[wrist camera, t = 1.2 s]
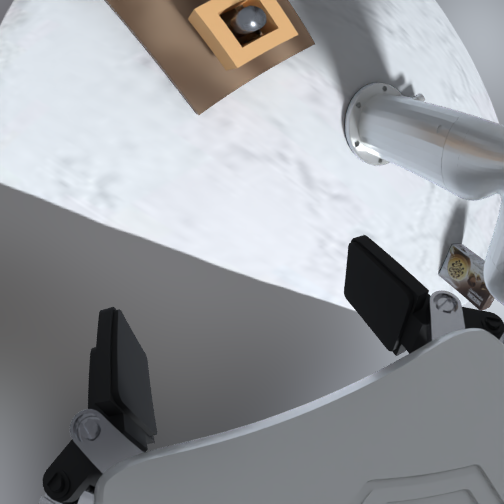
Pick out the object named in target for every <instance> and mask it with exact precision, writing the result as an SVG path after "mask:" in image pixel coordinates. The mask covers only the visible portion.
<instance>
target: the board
mask: <svg viewBox="0 0 504 504" xmlns="http://www.w3.org/2000/svg"><path fill="white" fill-rule="evenodd" d="M105 1H106V2H107V4H108V5H109V6H110V7H111V8H112V9H113V11H114V12H115V13H116V14H117V15H118V17H119V18H120V19H121V20H122V21H123V22H124V24H125V25H126V26H127V27H128V28H129V30H130V31H131V32H132V33H133V34H134V36H135V37H136V38H137V39H138V41H139V42H140V43H141V44H142V45H143V47H144V48H145V49H146V50H147V52H148V53H149V54H150V55H151V57H152V58H153V59H154V60H155V62H156V63H157V64H158V65H159V67H160V68H161V69H162V70H163V72H164V73H165V74H166V75H167V77H168V78H169V79H170V80H171V82H172V83H173V84H174V86H175V87H176V88H177V89H178V91H179V92H180V93H181V95H182V96H183V97H184V98H185V100H186V101H187V102H188V104H189V105H190V106H191V108H192V109H193V110H194V111H195V113H196V114H198V115H200V114H201V113H203V112H204V111H205V110H207V109H208V108H210V107H211V106H213V105H214V104H215V103H217V102H218V101H220V100H221V99H223V98H224V97H226V96H227V95H229V94H230V93H232V92H233V91H235V90H236V89H238V88H239V87H241V86H242V85H244V84H246V83H247V82H249V81H250V80H252V79H254V78H255V77H257V76H258V75H260V74H262V73H263V72H265V71H267V70H268V69H270V68H272V67H274V66H275V65H277V64H279V63H281V62H282V61H284V60H286V59H288V58H290V57H291V56H293V55H295V54H297V53H299V52H301V51H303V50H304V49H306V48H308V47H310V46H312V45H314V44H315V43H314V41H313V39H312V38H311V36H310V34H309V33H308V31H307V29H306V28H305V26H304V24H303V23H302V21H301V19H300V18H299V16H298V15H297V13H296V12H295V10H294V8H293V7H292V5H291V4H290V2H289V1H288V0H276V1H277V2H278V4H279V5H280V7H281V8H282V10H283V11H284V13H285V14H286V16H287V17H288V19H289V20H290V22H291V23H292V25H293V26H294V28H295V30H296V31H297V33H298V35H297V36H295V37H293V38H291V39H289V40H287V41H285V42H283V43H281V44H279V45H277V46H275V47H274V48H272V49H270V50H268V51H266V52H264V53H263V54H261V55H259V56H257V57H256V58H254V59H252V60H250V61H249V62H247V63H245V64H244V65H242V66H240V67H239V68H236V69H231V70H225V68H224V67H223V65H222V64H221V63H220V61H219V60H218V59H217V57H216V56H215V54H214V53H213V52H212V50H211V49H210V48H209V46H208V45H207V44H206V42H205V41H204V40H203V38H202V37H201V36H200V34H199V33H198V32H197V30H196V29H195V28H194V27H193V25H192V24H191V23H190V21H189V20H188V18H189V16H190V15H191V13H192V12H193V10H194V9H195V8H197V7H199V6H201V5H203V4H205V3H206V2H208V1H210V0H105ZM240 6H241V7H243V5H240ZM261 35H262V32H261V34H260V36H261Z"/></svg>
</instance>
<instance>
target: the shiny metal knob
mask: <svg viewBox="0 0 504 504" xmlns="http://www.w3.org/2000/svg"><path fill="white" fill-rule="evenodd" d="M220 17H221V19H222V20H223V21H224V23H225V24H226V25H227V27H228V28H229V30H230V31H231V32H232V34H233V35H234V36H235V38H236V39H237V41H238V42H239V44H240V45H241V46H242V45H244V44H246V43H248V42H249V41H251V40H253V39H255V38H257V37H259V36H260V34H261V31H260V30H259V29H261V28H262V27H263V26H264V25H265V24H266V20H267V18H266V14H265V12H264V11H263V10H262V9H261V8H259V7H256V6H247V7H245V8H244V7H241V6H238V7H236V8H234V9H232V10H230V11H228V12H226V13H224V14H222V15H220Z"/></svg>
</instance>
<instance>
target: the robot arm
mask: <svg viewBox="0 0 504 504" xmlns="http://www.w3.org/2000/svg"><path fill="white" fill-rule="evenodd" d="M424 100H425V98H424V96H423V95H422V94H417V95H416V96H414V98H411V97H406V96H403V95H402V94H401V93H400V92H399V91H398V90H397V89H396V88H394V87H393V86H391V85H388V84H384V83H372V84H368V85H366V86H364V87H363V88H361V89H360V90H359V91H358V92H357V93H356V94H355V96H354V97H353V98H352V100H351V102H350V104H349V106H348V110H347V113H346V120H345V132H346V137H347V141H348V143H349V146H350V148H351V150H352V151H353V153H354V154H355V155H356V156H357V157H358V158H359V159H360V160H362V161H363V162H366V163H368V164H370V165H374V166H381V165H385V164H388V163H390V162H391V163H393V164H395V165H397V166H400V167H402V168H404V169H406V170H408V171H410V172H412V173H414V174H416V175H418V176H420V177H422V178H424V179H426V180H428V181H430V182H432V183H434V184H436V185H438V186H440V187H442V188H444V189H445V190H447V191H449V192H451V193H453V194H455V195H457V196H458V197H461V198H463V199H466V200H473V201H474V200H481V199H484V198H487V197H490V196H492V195H494V194H496V193H498V194H500V196H501V205H500V210H499V216H498V220H497V223H496V227H495V230H494V233H493V237H492V240H491V243H490V246H489V249H488V252H487V256H486V259H485V263H484V270H483V273H484V281H485V284H486V287H487V289H488V290H489V292H490V293H491V295H492V296H493V297H494V298H495V299H496V300H497V301H499V302H500V303H501V304H503V305H504V125H501V124H498V123H495V122H492V121H489V120H486V119H483V118H480V117H477V116H474V115H470V114H466V113H463V112H460V111H456V110H453V109H449V108H446V107H442V106H438V105H434V104H430V103H426V102H423V101H424ZM428 292H429V290H428V289H427V288H425V287H424V286H423V285H422V284H421V283H420V282H419V281H418V280H417V279H416V278H415V277H414V276H412V275H411V274H410V273H409V272H408V271H407V270H406V269H405V268H404V267H402V266H401V265H400V264H399V263H398V262H397V261H396V260H394V259H393V258H392V257H391V256H390V255H389V254H388V253H386V252H385V251H384V250H383V249H382V248H381V247H379V246H378V245H377V244H376V243H375V242H373V241H372V240H371V239H370V238H369V237H367V236H366V235H363V236H359V237H356V238H353V239H352V240H351V243H349V246H348V257H347V268H346V278H345V287H344V295H345V297H346V299H347V300H348V301H349V303H350V304H351V305H352V306H353V308H354V309H355V310H356V311H357V312H358V314H359V315H360V316H361V317H362V318H363V320H364V321H365V322H366V323H367V325H368V326H369V327H370V328H371V329H372V331H373V332H374V333H375V334H376V336H377V337H378V338H379V340H380V341H381V342H382V343H383V345H384V346H385V347H386V348H387V349H388V350H389V351H393V353H394V354H395V355H396V356H397V355H399V354H401V353H403V352H405V351H406V350H407V351H408V352H409V355H407V356H405V357H403V358H401V359H399V360H397V361H396V362H394V363H393V364H390V365H388V366H387V367H385V368H383V369H381V370H379V371H377V372H375V373H373V374H371V375H369V376H367V377H365V378H363V379H361V380H359V381H357V382H355V383H353V384H351V385H348V386H346V387H344V388H342V389H340V390H338V391H335V392H333V393H331V394H329V395H326V396H324V397H322V398H319V399H317V400H314V401H312V402H310V403H307V404H305V405H302V406H300V407H297V408H294V409H292V410H290V411H286V412H284V413H281V414H278V415H275V416H273V417H270V418H267V419H264V420H261V421H258V422H255V423H252V424H249V425H246V426H242V427H239V428H236V429H232V430H229V431H225V432H222V433H219V434H215V435H211V436H207V437H203V438H200V439H196V440H192V441H188V442H183V443H179V444H175V445H171V446H167V447H163V448H159V449H155V450H150V451H148V452H146V451H147V444H149V443H154V437H153V435H156V434H157V428H156V423H155V416H154V409H153V403H152V395H151V387H150V379H149V370H148V361H147V357H146V354H145V352H144V351H143V349H142V348H141V346H140V344H139V342H138V341H137V339H136V337H135V335H134V334H133V332H132V330H131V328H130V326H129V324H128V323H127V321H126V319H125V317H124V315H123V314H122V312H121V310H116V309H115V308H114V307H111V308H108V309H104V310H101V311H100V312H99V321H98V332H97V344H96V347H95V348H92V349H91V353H90V369H89V390H88V391H89V392H88V393H89V394H88V409H86V410H82V411H80V412H79V413H77V414H76V415H75V416H74V418H73V419H72V422H71V424H70V435H71V437H72V440H71V441H70V443H69V444H68V445H67V446H66V447H65V449H64V450H63V451H62V452H61V454H60V455H59V456H58V457H57V458H56V459H55V461H54V462H53V463H52V464H51V466H50V467H49V468H48V469H47V470H46V472H45V474H44V477H43V487H44V490H45V492H46V493H45V496H44V497H43V496H41V497H40V500H39V503H38V504H504V323H503V321H502V320H501V318H500V317H499V316H497V315H496V314H494V313H491V312H486V311H481V310H475V309H471V308H465V307H462V306H461V302H460V300H459V299H458V298H457V297H456V296H455V295H454V294H452V293H450V292H447V291H437V292H434V293H433V294H432V295H431V296H430V295H429V294H428Z"/></svg>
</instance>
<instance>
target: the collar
mask: <svg viewBox="0 0 504 504" xmlns="http://www.w3.org/2000/svg"><path fill="white" fill-rule="evenodd" d="M240 5H243V7H244V8H245V7H247V6H256V7H259V8H261V9H262V10H263V11H264V12H265V14H266V18H267V20H266V24H265V25H264V26H263V27H262V28H261V29H259V30H260V31H261V32H262V35H261V36H259V37H257V38H255V39H253V40H251V41H249V42H248V43H246V44H244V45H242V46H241V45H240V44H239V42H238V41H237V39H236V38H235V36H234V35H233V34H232V32H231V31H230V30H229V28H228V27H227V25H226V24H225V23H224V21H223V20H222V19H221V17H220V15H222V14H224V13H226V12H228V11H230V10H232V9H234V8H236V7H238V6H240ZM188 20H189V21H190V23H191V24H192V25H193V27H194V28H195V29H196V30H197V32H198V33H199V34H200V36H201V37H202V38H203V40H204V41H205V42H206V44H207V45H208V46H209V48H210V49H211V50H212V52H213V53H214V54H215V56H216V57H217V59H218V60H219V61H220V63H221V64H222V65H223V67H224V68H225V70H231V69H236V68H239V67H240V66H242V65H244V64H245V63H247V62H249V61H250V60H252V59H254V58H256V57H257V56H259V55H261V54H263V53H264V52H266V51H268V50H270V49H272V48H274V47H275V46H277V45H279V44H281V43H283V42H285V41H287V40H289V39H291V38H293V37H295V36H297V35H298V33H297V31H296V30H295V28H294V26H293V25H292V23H291V22H290V20H289V19H288V17H287V16H286V14H285V13H284V11H283V10H282V8H281V7H280V5H279V4H278V2H277V1H276V0H210V1H208V2H206V3H205V4H203V5H201V6H199V7H197V8H195V9H194V10H193V12H192V13H191V15H190V16H189V18H188Z"/></svg>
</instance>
